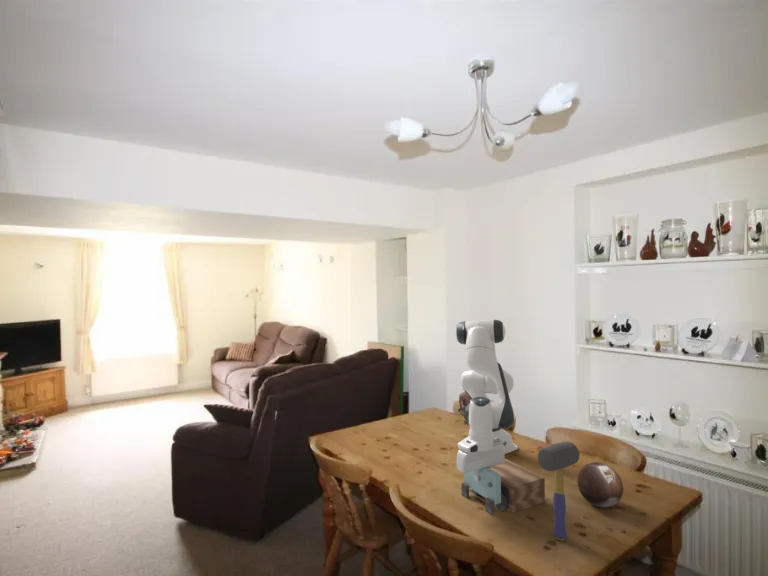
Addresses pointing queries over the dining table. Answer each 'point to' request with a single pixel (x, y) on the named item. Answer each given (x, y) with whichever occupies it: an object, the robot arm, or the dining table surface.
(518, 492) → the cabinet
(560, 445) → the rubber mallet
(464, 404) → the clay figurine
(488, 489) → the door
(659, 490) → the dining table surface
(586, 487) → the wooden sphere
